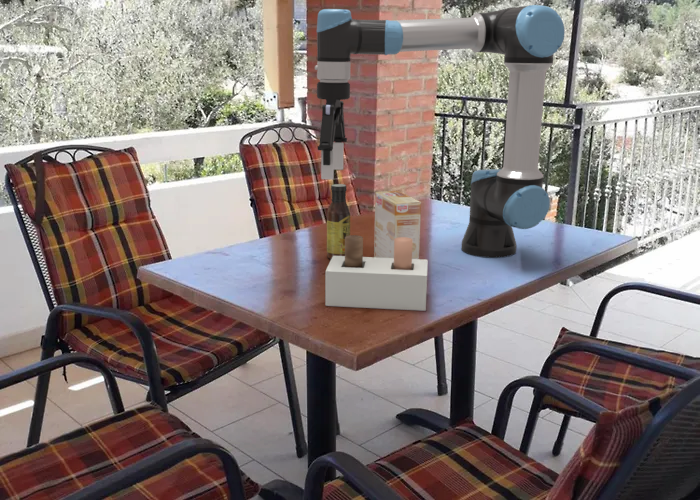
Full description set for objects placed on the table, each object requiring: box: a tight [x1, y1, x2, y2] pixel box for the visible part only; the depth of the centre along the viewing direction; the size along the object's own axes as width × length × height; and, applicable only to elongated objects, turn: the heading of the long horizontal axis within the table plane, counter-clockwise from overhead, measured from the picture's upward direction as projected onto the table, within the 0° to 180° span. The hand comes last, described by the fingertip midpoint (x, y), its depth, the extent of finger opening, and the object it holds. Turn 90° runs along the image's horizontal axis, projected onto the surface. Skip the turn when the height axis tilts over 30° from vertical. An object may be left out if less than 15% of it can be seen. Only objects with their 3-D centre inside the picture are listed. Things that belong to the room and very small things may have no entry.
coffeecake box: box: [373, 190, 422, 259], centre depth 178 cm, size 15×7×20 cm, turn 17°
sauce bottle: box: [326, 183, 351, 260], centre depth 189 cm, size 7×6×20 cm
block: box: [324, 256, 429, 312], centre depth 160 cm, size 22×12×8 cm, turn 83°
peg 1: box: [345, 234, 364, 268], centre depth 159 cm, size 4×4×8 cm
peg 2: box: [394, 237, 413, 270], centre depth 158 cm, size 4×4×8 cm
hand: (332, 174), depth 166 cm, fingers open, 13 cm apart
